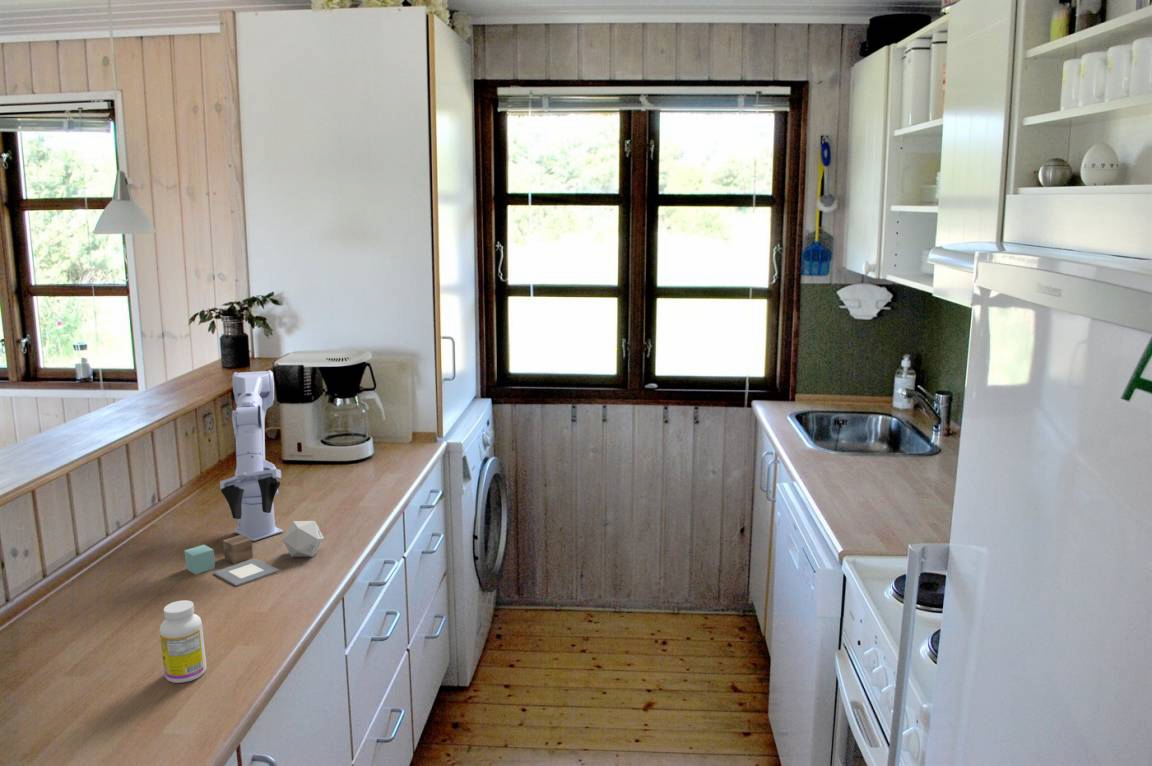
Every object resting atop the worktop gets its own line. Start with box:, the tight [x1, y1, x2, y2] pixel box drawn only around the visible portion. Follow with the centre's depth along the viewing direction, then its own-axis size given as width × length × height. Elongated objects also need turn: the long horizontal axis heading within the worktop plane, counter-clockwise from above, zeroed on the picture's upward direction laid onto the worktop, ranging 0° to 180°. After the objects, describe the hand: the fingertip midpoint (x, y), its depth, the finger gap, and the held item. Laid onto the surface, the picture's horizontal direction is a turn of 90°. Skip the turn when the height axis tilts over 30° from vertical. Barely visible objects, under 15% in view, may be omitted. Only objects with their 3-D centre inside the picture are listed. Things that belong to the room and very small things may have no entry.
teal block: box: [183, 544, 216, 575], centre depth 191 cm, size 4×4×4 cm
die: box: [282, 520, 325, 558], centre depth 198 cm, size 8×9×10 cm
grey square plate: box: [213, 557, 280, 587], centre depth 189 cm, size 10×10×1 cm
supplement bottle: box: [159, 599, 207, 684], centre depth 147 cm, size 7×7×13 cm
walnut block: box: [222, 534, 254, 565], centre depth 197 cm, size 4×4×4 cm
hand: (251, 515), depth 192 cm, fingers open, 7 cm apart
